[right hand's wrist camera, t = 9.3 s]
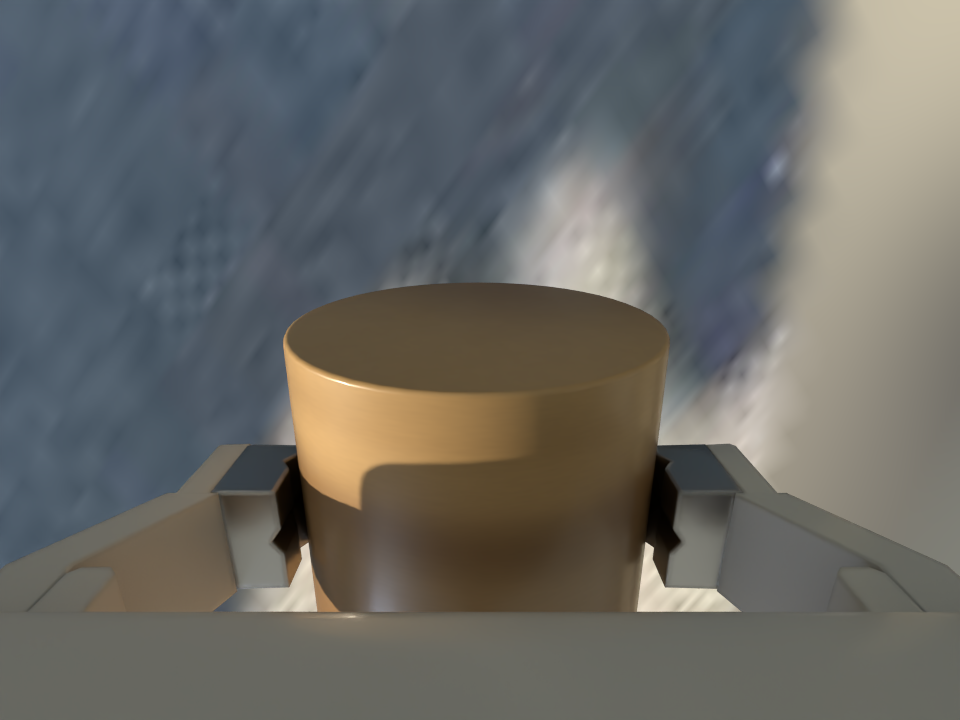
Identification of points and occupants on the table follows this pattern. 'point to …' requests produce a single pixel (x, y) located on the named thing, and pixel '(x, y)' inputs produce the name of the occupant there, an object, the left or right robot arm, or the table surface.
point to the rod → (476, 447)
